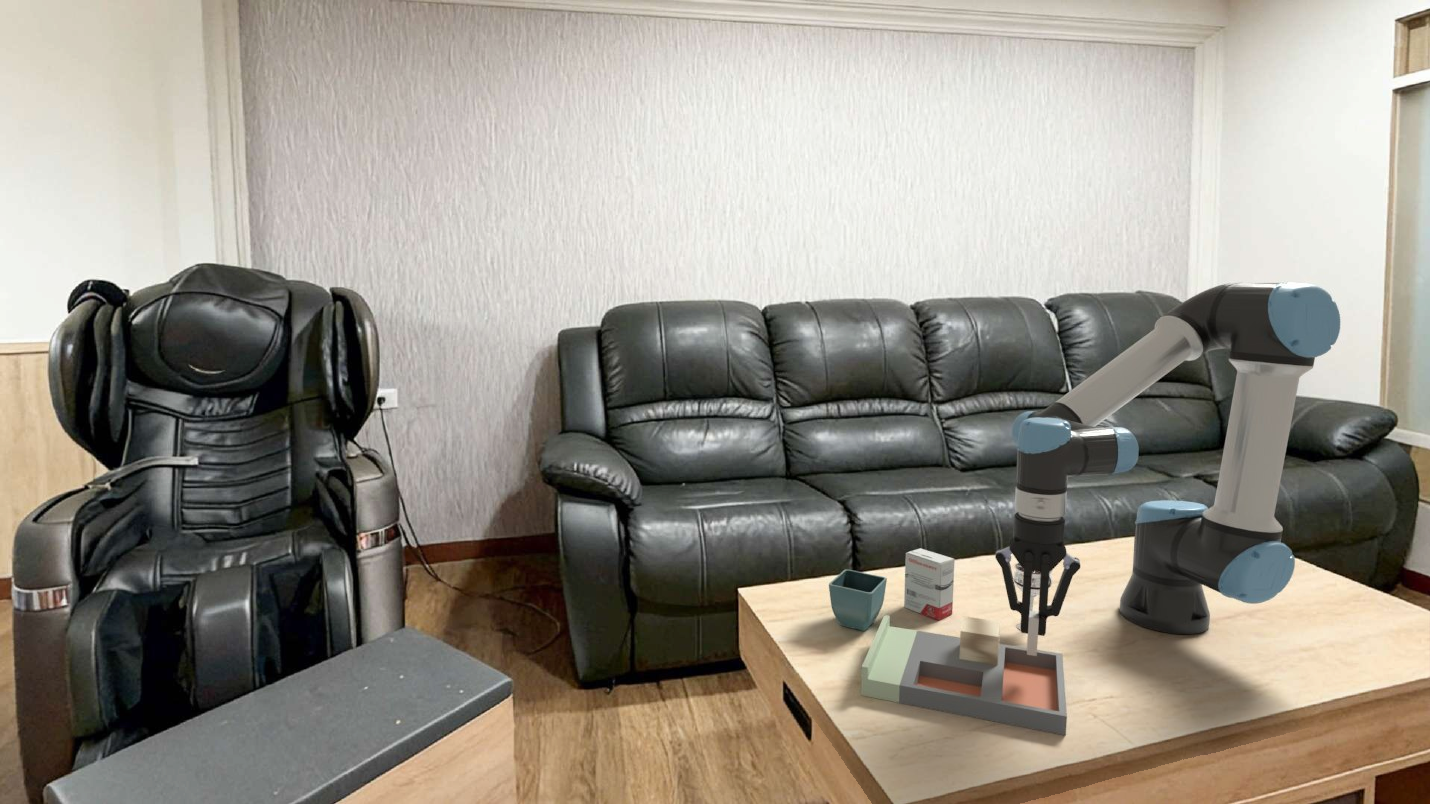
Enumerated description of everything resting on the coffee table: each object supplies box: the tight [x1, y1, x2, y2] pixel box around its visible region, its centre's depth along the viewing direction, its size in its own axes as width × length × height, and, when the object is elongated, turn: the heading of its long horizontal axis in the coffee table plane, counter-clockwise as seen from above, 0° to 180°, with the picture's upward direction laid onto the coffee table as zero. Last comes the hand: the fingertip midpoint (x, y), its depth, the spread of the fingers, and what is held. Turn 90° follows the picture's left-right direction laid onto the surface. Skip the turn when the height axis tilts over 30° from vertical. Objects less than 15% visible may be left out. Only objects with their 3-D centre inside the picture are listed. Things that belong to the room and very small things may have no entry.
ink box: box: [903, 547, 955, 621], centre depth 152 cm, size 8×5×12 cm, turn 39°
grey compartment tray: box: [860, 614, 1068, 736], centre depth 125 cm, size 30×20×5 cm, turn 67°
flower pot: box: [828, 569, 888, 632], centre depth 146 cm, size 9×9×9 cm
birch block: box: [959, 616, 1001, 665], centre depth 128 cm, size 6×6×5 cm
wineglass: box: [1012, 562, 1054, 632], centre depth 143 cm, size 7×7×12 cm
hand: (1031, 651), depth 125 cm, fingers closed
